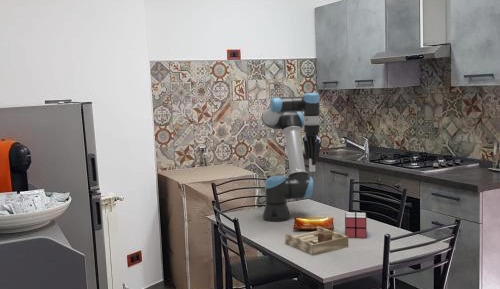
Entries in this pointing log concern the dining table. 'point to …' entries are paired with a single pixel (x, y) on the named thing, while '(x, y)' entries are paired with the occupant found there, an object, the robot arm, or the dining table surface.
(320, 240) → the block
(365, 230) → the puzzle cube
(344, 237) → the wooden sorting tray
